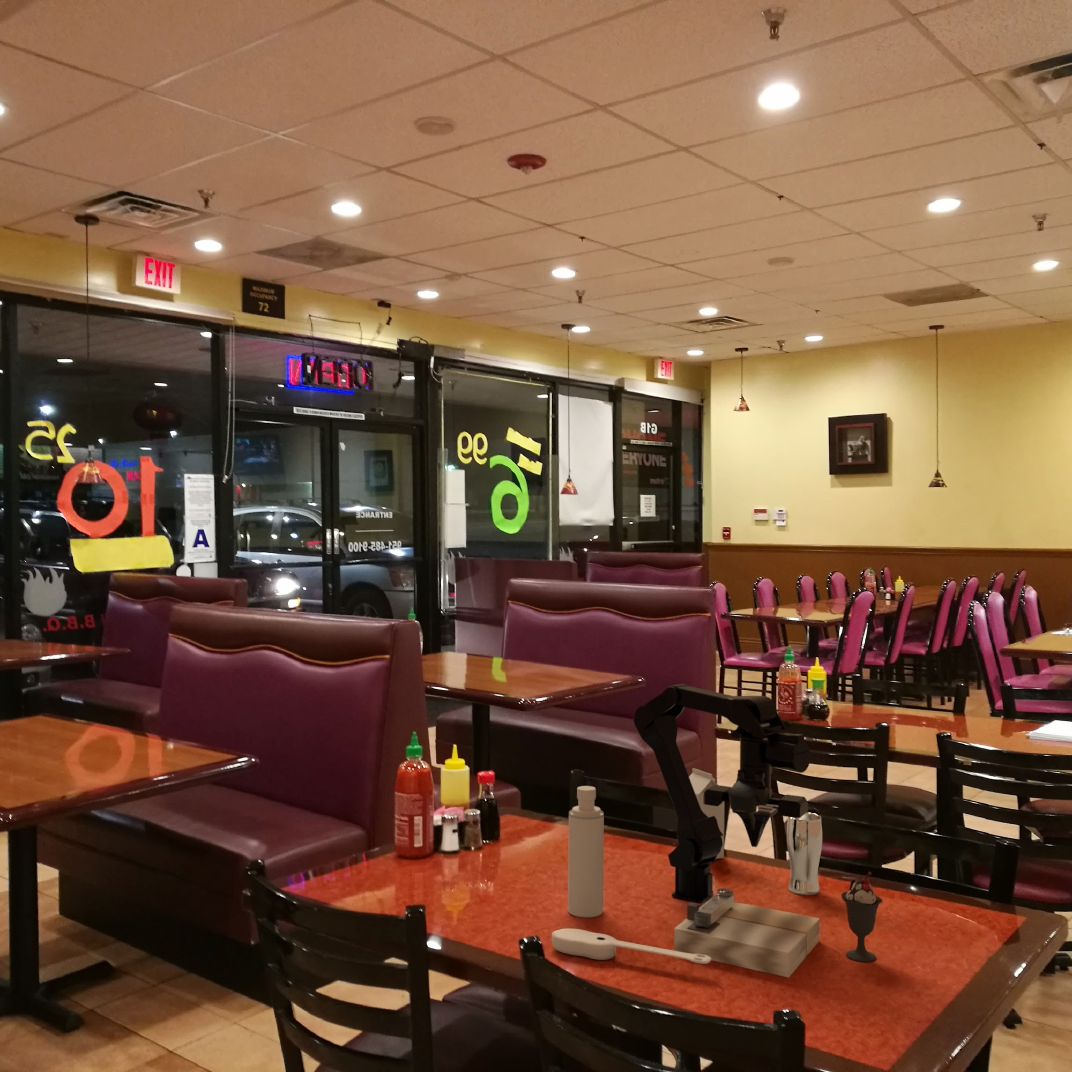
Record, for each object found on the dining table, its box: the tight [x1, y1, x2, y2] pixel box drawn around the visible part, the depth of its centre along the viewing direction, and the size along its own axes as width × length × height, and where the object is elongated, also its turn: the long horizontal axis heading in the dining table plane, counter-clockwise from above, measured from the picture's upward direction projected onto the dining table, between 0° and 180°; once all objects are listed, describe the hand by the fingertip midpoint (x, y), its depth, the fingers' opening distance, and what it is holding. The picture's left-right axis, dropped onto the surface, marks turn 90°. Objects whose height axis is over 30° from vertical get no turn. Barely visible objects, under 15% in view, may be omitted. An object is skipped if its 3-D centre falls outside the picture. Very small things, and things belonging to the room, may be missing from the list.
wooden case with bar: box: [673, 897, 820, 979], centre depth 182 cm, size 20×18×6 cm
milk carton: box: [688, 767, 725, 860], centre depth 233 cm, size 7×7×19 cm
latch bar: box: [694, 887, 735, 928], centre depth 185 cm, size 13×3×3 cm, turn 150°
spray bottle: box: [567, 785, 605, 918], centre depth 198 cm, size 7×7×25 cm
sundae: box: [840, 871, 883, 963], centre depth 178 cm, size 7×7×15 cm
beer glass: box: [786, 811, 823, 896], centre depth 211 cm, size 7×7×15 cm
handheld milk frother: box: [551, 928, 712, 965], centre depth 175 cm, size 28×6×3 cm, turn 65°
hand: (754, 846), depth 197 cm, fingers closed
